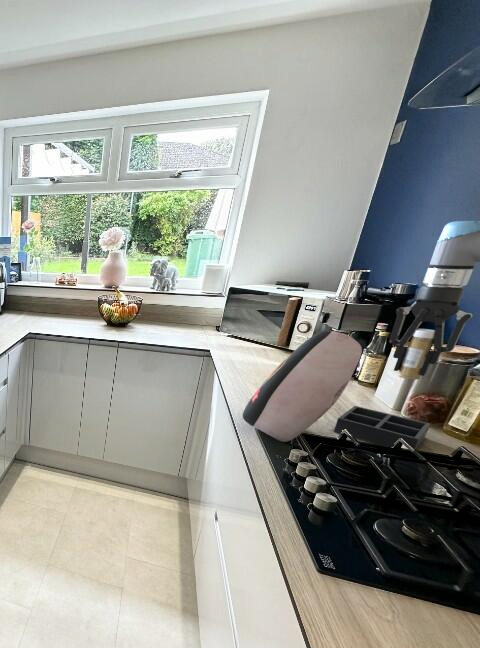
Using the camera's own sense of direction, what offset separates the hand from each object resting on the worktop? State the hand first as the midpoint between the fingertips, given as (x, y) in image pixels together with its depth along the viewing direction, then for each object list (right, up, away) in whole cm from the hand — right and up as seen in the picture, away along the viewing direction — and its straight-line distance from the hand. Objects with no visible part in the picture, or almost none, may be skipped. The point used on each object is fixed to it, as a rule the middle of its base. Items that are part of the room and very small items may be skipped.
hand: (409, 372), depth 110 cm
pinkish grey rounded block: (-34, -18, +1) cm, 38 cm away
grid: (-9, -18, 0) cm, 20 cm away
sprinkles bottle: (0, -2, +1) cm, 2 cm away
